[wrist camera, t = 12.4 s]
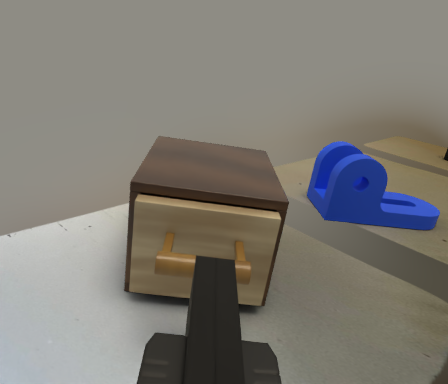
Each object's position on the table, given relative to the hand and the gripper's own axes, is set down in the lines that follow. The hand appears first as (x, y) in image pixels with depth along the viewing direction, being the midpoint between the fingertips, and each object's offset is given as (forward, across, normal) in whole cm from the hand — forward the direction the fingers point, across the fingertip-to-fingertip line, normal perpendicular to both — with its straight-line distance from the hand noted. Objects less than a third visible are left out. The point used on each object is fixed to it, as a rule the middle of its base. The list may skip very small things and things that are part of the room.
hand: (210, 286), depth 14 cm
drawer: (+15, 0, -10) cm, 18 cm away
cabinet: (+19, 0, -11) cm, 22 cm away
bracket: (+36, +25, -11) cm, 45 cm away
